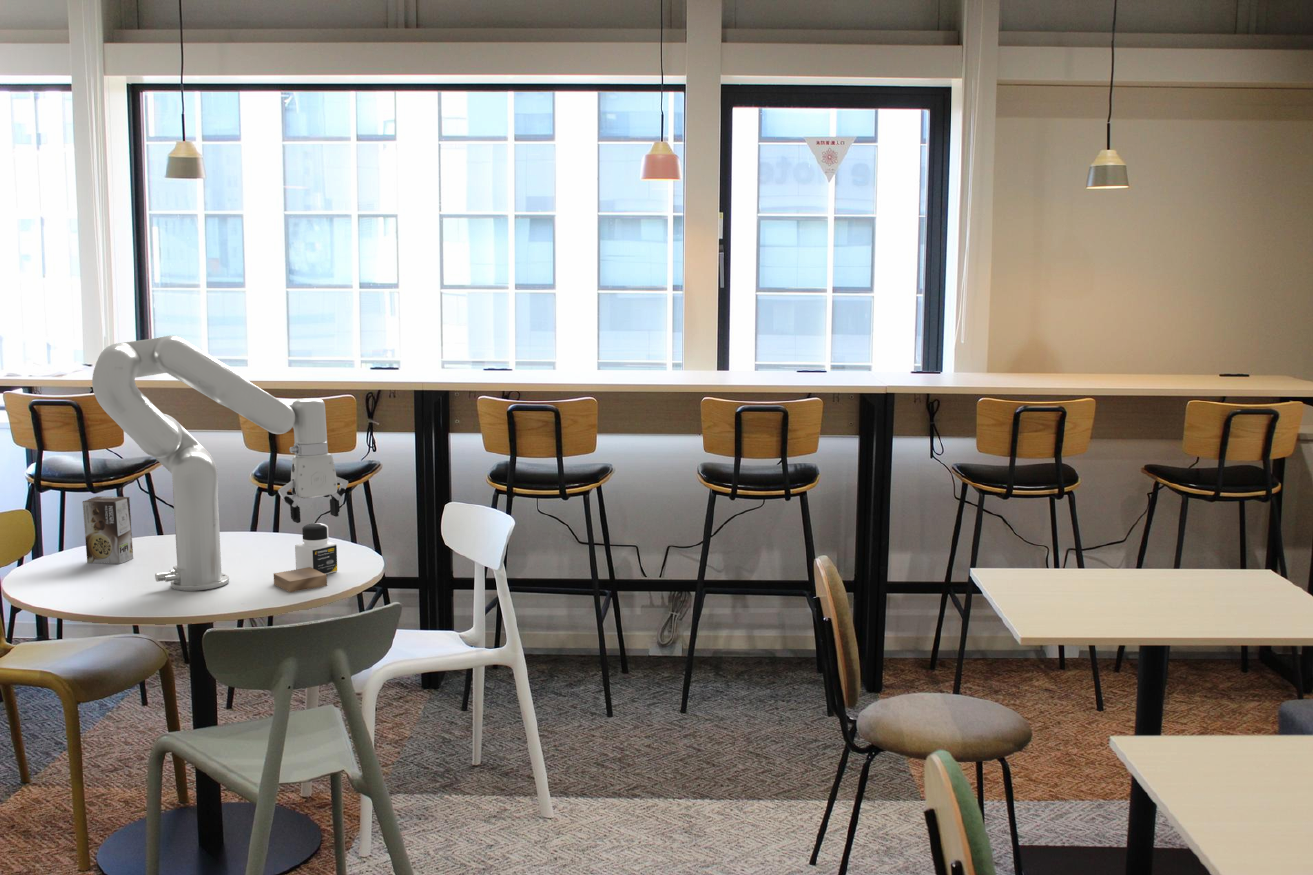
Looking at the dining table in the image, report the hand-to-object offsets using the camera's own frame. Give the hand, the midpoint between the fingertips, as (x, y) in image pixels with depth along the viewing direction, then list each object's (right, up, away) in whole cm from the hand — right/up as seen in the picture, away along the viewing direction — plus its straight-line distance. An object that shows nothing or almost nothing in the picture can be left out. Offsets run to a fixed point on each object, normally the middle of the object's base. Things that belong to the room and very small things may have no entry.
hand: (315, 518), depth 263 cm
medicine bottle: (0, -14, +2) cm, 14 cm away
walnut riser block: (-1, -15, -9) cm, 18 cm away
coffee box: (-56, -12, +12) cm, 58 cm away
